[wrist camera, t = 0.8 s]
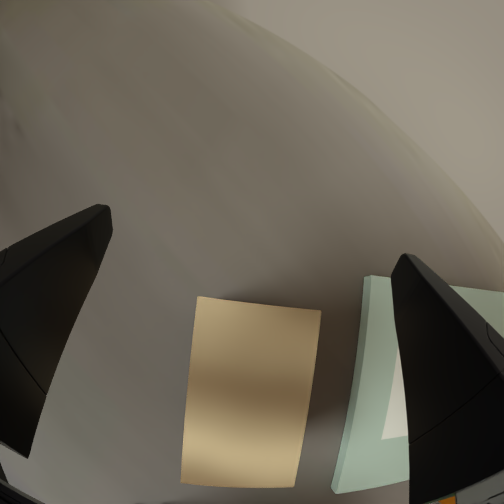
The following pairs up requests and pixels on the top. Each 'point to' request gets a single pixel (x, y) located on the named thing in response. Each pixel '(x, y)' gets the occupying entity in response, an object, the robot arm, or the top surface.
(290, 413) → the maple stool
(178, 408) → the top surface
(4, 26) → the top surface
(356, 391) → the sage board
